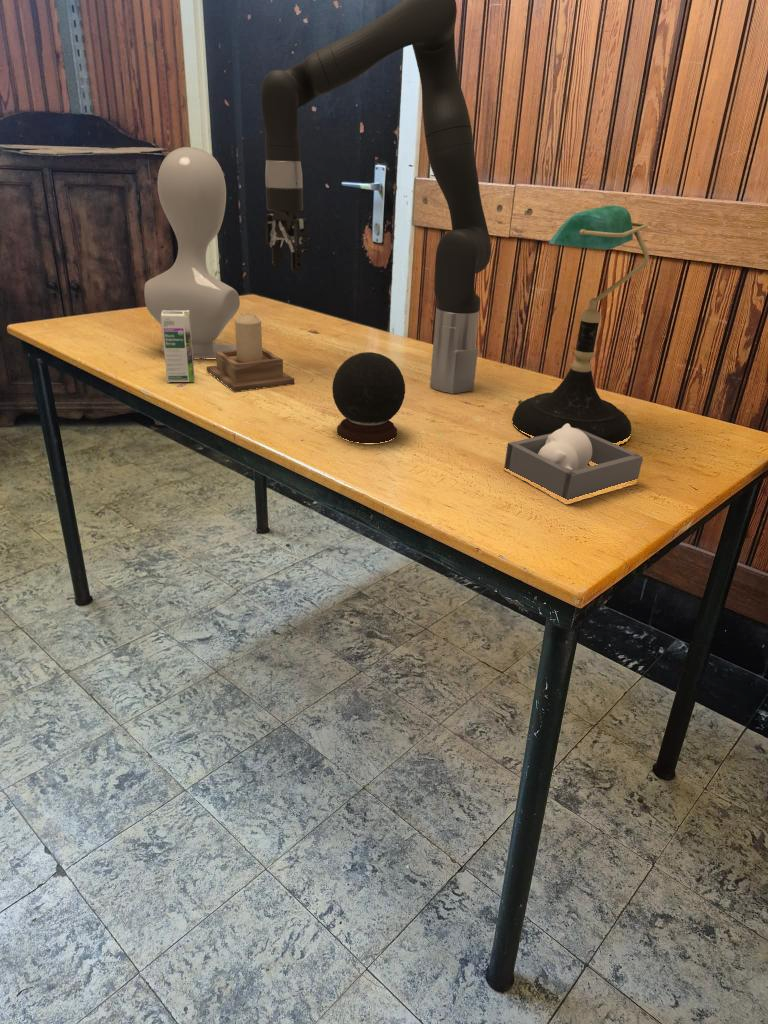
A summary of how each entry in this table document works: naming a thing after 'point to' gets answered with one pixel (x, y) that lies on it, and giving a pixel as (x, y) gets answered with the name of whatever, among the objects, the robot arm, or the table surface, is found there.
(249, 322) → the candle
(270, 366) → the display pedestal
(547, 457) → the cat figurine
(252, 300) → the table surface
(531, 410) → the banker's lamp
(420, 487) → the table surface
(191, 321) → the mannequin bust
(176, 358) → the syrup box
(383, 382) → the black crystal ball
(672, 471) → the table surface
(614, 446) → the figurine tray
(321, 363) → the table surface
